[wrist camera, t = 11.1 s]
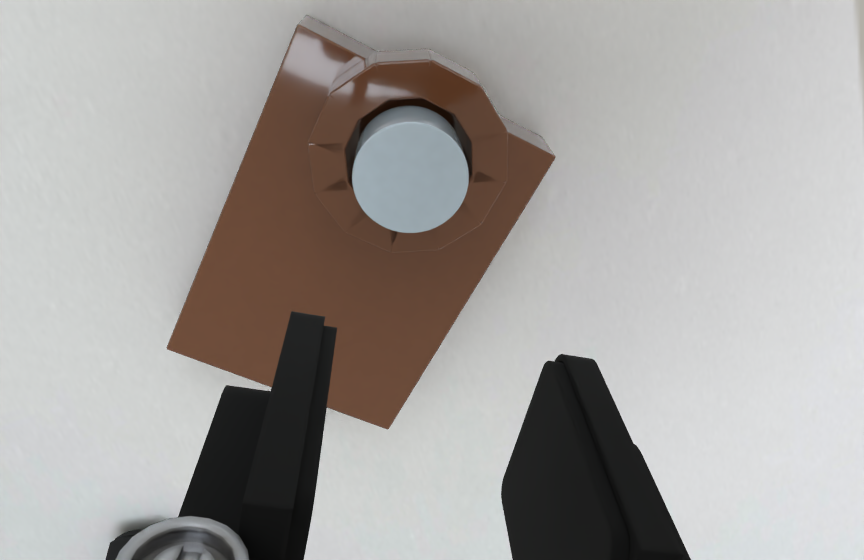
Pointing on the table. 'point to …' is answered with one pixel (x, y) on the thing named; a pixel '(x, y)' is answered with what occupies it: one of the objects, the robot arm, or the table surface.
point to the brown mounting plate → (352, 224)
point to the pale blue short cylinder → (409, 170)
